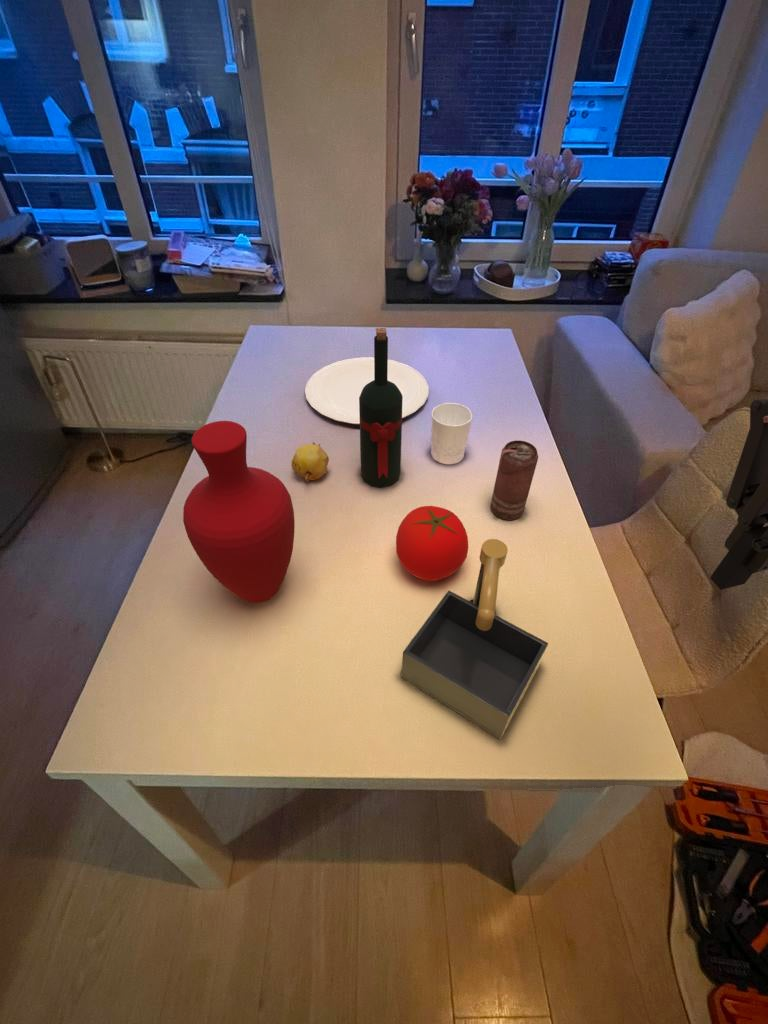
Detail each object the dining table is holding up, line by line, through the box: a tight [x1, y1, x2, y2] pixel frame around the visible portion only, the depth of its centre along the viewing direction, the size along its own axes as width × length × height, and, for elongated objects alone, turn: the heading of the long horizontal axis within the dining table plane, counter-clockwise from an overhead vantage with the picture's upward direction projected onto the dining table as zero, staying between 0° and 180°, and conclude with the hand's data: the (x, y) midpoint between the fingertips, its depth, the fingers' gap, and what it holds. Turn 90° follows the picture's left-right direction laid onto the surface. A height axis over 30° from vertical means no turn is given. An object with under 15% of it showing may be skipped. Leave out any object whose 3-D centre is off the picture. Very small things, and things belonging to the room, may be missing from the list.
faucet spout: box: [476, 538, 509, 631], centre depth 68 cm, size 13×3×3 cm, turn 167°
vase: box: [182, 420, 296, 604], centre depth 74 cm, size 15×15×30 cm
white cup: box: [430, 402, 473, 465], centre depth 105 cm, size 8×8×10 cm
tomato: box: [395, 505, 469, 582], centre depth 84 cm, size 12×12×10 cm
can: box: [489, 440, 539, 521], centre depth 92 cm, size 6×6×14 cm
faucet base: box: [469, 562, 501, 616], centre depth 76 cm, size 5×5×13 cm
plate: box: [304, 356, 430, 425], centre depth 124 cm, size 29×29×2 cm
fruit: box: [291, 441, 330, 484], centre depth 102 cm, size 7×7×10 cm
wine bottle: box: [359, 327, 403, 489], centre depth 93 cm, size 8×10×30 cm
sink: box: [401, 590, 549, 740], centre depth 72 cm, size 12×15×7 cm
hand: (727, 580), depth 50 cm, fingers closed
